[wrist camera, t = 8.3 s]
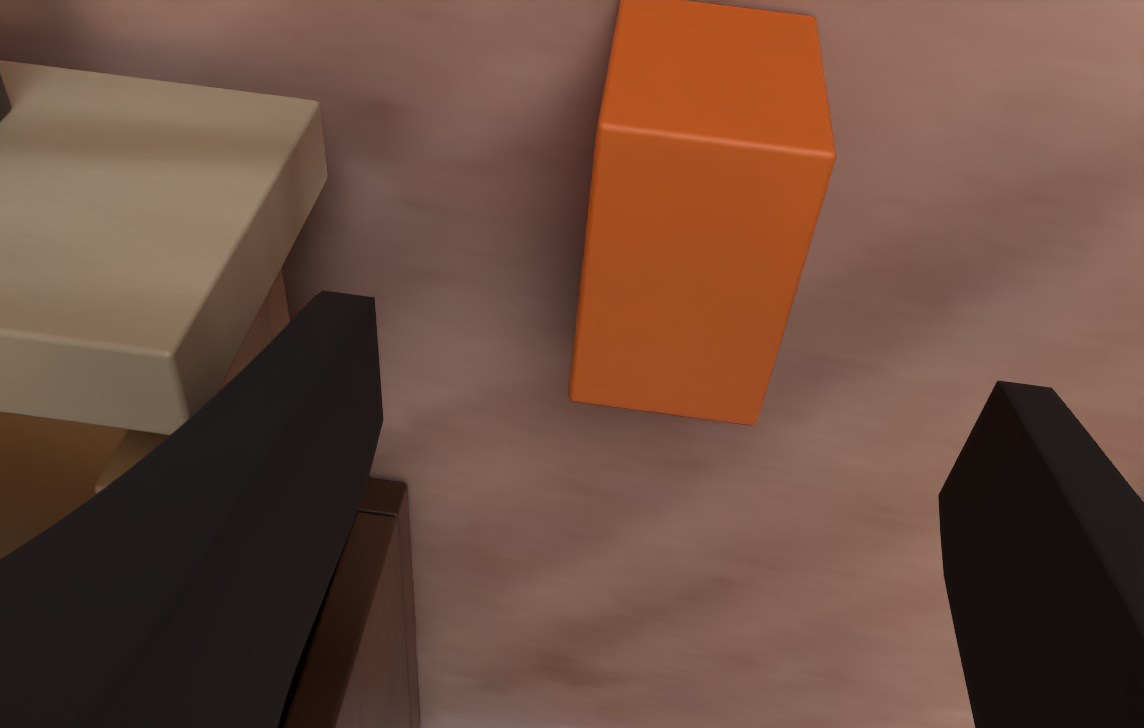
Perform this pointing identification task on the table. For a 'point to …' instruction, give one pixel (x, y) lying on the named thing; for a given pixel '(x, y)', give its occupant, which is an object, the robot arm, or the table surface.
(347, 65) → the table surface
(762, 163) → the block
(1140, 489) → the table surface
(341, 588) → the cabinet
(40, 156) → the drawer
